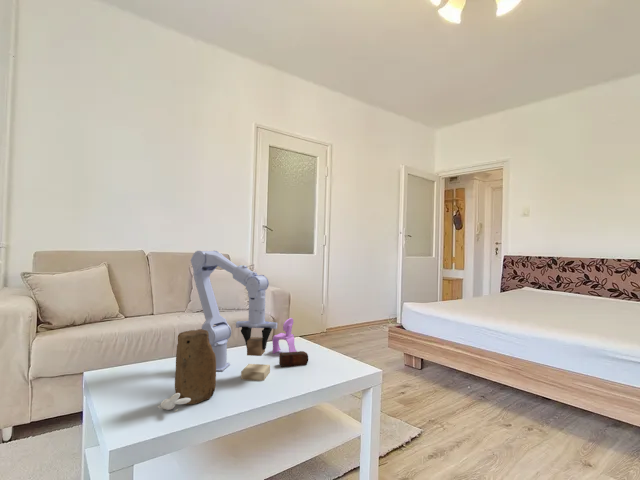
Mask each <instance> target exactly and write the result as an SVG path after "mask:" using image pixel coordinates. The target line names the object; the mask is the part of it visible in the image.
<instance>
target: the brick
mask: <svg viewBox="0 0 640 480" xmlns="http://www.w3.org/2000/svg"><path fill="white" fill-rule="evenodd" d="M278 359H279V360H278V362H279V366H280V367H281V368H290V367H297V366H307V365H308V363H309V354H308V353H307V352H306V351H303V350H299V351H297V352H289V351H285V352H280V353H279V358H278Z"/></svg>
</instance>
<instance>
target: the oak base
mask: <svg viewBox="0 0 640 480" xmlns="http://www.w3.org/2000/svg"><path fill="white" fill-rule="evenodd" d="M270 373H271V364H259V363H256V364H255V363H248V364H246V365H245V367H244V368H243V369H242V370H241V372H240V379H241V380H248V381H251V380H252V381H265V380H266V379H267V377H268V376H269V374H270Z"/></svg>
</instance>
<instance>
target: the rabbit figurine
mask: <svg viewBox="0 0 640 480" xmlns="http://www.w3.org/2000/svg"><path fill="white" fill-rule="evenodd" d="M179 397H180V393H175V394H173V395H172V396H170V397H169V398H165V399H164V400H163V401H162V402H160V405H157V408H158V409H160V410H166V411H167V410H169V411H171V410H172V409H174V408H175V407H176V405H187V404H186V403H188V402H190V401H191V399H190V398H181V399H179ZM178 410H179V408H177V409H176V410H174V413H176V412H177V411H178Z"/></svg>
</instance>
